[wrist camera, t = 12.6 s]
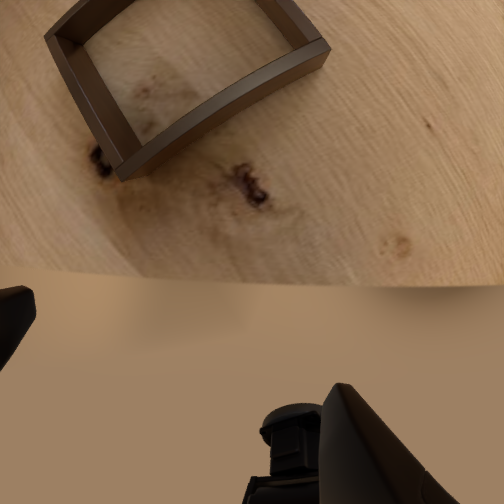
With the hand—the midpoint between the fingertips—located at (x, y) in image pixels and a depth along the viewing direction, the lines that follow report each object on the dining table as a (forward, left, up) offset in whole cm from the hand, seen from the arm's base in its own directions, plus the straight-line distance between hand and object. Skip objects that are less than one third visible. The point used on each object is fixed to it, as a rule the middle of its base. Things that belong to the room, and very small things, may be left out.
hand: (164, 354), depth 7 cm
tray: (+12, -4, -12) cm, 17 cm away
